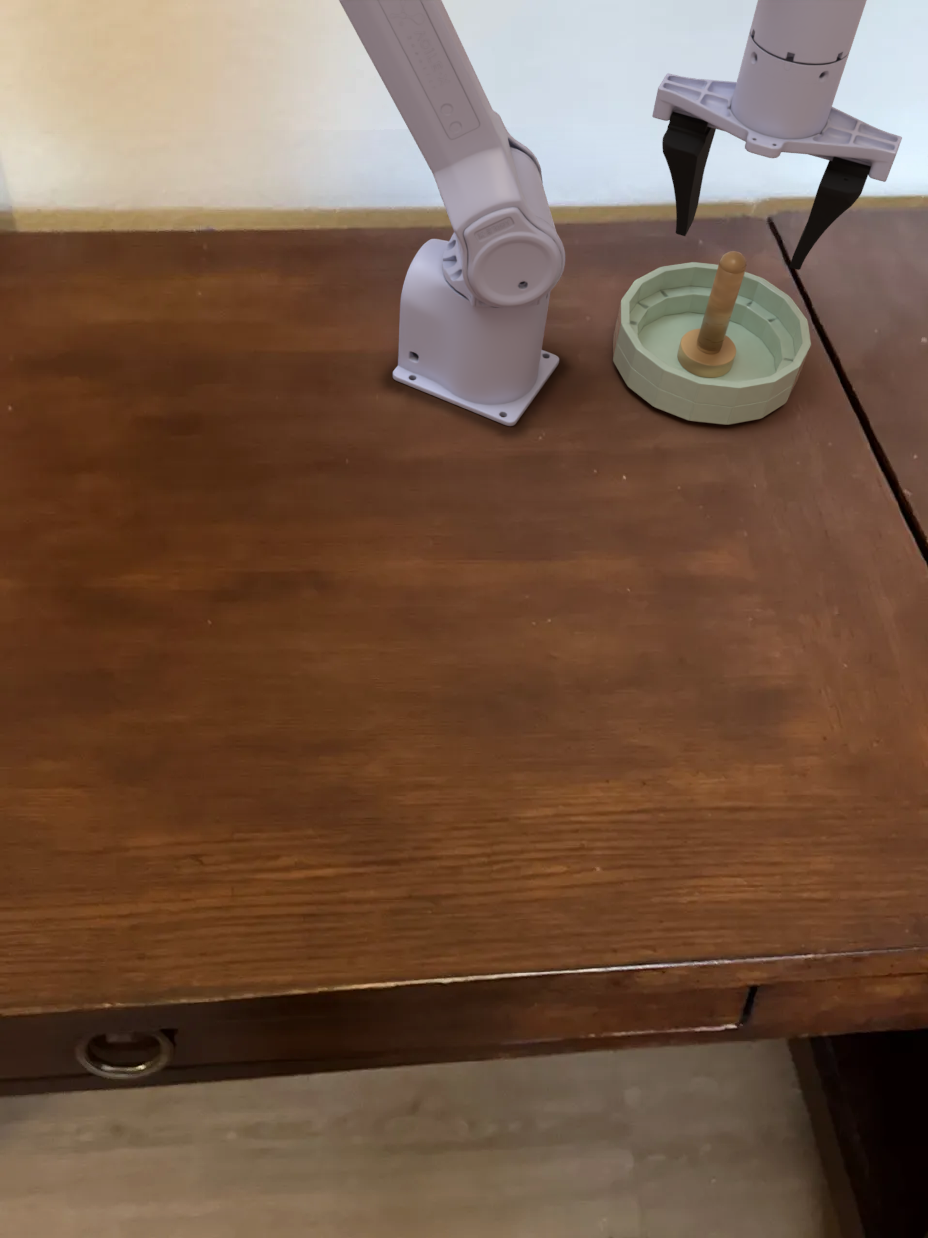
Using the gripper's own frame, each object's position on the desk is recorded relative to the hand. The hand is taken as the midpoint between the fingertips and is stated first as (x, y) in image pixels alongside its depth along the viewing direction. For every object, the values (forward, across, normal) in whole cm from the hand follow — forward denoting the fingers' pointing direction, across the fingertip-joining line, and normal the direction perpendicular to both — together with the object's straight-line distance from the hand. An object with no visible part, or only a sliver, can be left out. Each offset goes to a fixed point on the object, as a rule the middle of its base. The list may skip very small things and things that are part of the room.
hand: (740, 243), depth 79 cm
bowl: (+10, 0, 0) cm, 10 cm away
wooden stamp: (+10, 0, 0) cm, 10 cm away
